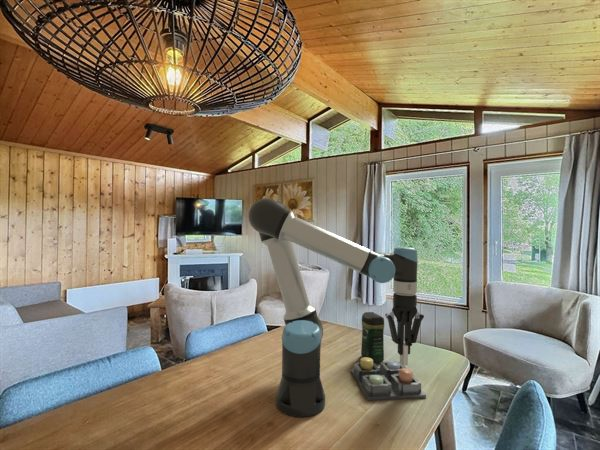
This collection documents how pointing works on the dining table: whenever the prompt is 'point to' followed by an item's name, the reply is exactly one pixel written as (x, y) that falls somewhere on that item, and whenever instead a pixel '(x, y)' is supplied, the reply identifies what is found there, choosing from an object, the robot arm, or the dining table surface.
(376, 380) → the sage button
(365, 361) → the mustard button
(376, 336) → the coffee jar
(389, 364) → the slate button
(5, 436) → the dining table surface
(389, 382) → the button panel
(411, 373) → the terracotta button
